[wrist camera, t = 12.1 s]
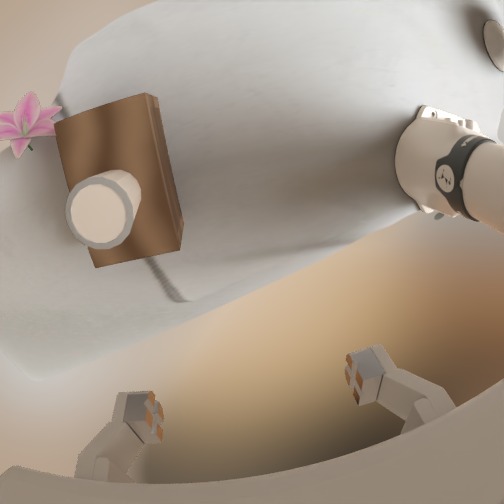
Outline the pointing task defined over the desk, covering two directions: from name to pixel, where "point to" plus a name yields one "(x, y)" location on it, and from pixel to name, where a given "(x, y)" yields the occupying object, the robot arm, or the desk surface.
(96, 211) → the cream tapered cup
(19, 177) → the desk surface
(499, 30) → the chalice
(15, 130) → the lily
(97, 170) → the walnut shelf
